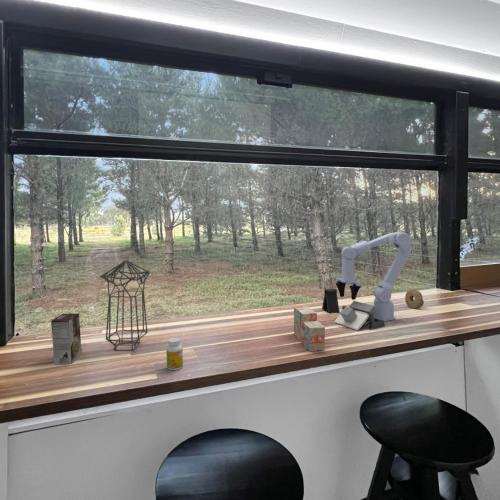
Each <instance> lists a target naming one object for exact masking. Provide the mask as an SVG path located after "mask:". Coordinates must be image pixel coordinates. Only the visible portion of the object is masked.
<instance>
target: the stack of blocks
mask: <svg viewBox="0 0 500 500" xmlns="http://www.w3.org/2000/svg"><path fill="white" fill-rule="evenodd" d="M317 317H318V313H317V312H316V311H315V310H313V309H312V308H310V307H309V306H307V305H305V306H304V305H303V306H293V324H294V325H293V326H294V327H293V331H294V332H293V333H294V335H295V337H297V339H298V341H300V342H301V343H302V344H303V346H304V347H305V348H306V349H307V351H308V352H317V350H322V351H325V343H326V342H325V341H326V340H325V335H326V327H325V326H324V325H323V324H322V323H321V322H319V321H318V318H317Z"/></svg>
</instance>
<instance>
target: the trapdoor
mask: <svg viewBox="0 0 500 500" xmlns="http://www.w3.org/2000/svg"><path fill="white" fill-rule="evenodd" d="M348 307H349V308H353V309H354V310H356V311H360V312H364V313H367V314H371V313H373V314H374V315H375V314H376V313H377V311H376V309H375V307H374V304H373V305H372V304H368V303H365V302H364V303H363V302H360V301H357V300H352V303H350V305H349V306H348ZM356 311H355V313H356V315H357V317H356V319H355V320H354V321H353V322H352V323H350V322H347V321H344V319H343V317H342V316H341V314H339V315H338V317H337V318H336V319H335V320H334V321H333V322H334V323H335V324H337V325H340V326H343V327H346V328H349V329H350V330H351V329H352V330H353V331H359V330H360V329H361V327H362V326H363V325H364V324H365V323H366V322H367V321H366V320H367V319H368V318H369V315H366V314H363V313H359V312H356Z"/></svg>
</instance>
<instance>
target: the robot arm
mask: <svg viewBox="0 0 500 500" xmlns="http://www.w3.org/2000/svg"><path fill="white" fill-rule="evenodd" d="M387 243H388V244H392V245H394V246H395V248H396V250H397V254H396V256H395V258H394V259H393V262H392V263H391V265H390V267H389V268H388V270H387V273H386V274H385V276H384V278H383V280H381V281H380V282H379V284H378V285H377V286H376V287H375V288H374V289H373V293H372V294H373V296H374V299H373V306H374V307H375V309H376V311H377V313H376V314H375V315H374V318H377V319H380V320H384V321H385V322H388V321H391V320H396V318H395V314H394V313H395V305H394V303H393V301H391V299H392V293H393V291H394V285H395V283H396V281H397V280H398V277H400V274H401V273H402V270H403V268H404V267H405V265H406V263H407V261H408V260H409V258H410V256H411V253H412V251H411V250H412V249H411V248H412V247H411V244H412V239H411V237H410V235H409V234H408V233H407V232H401V231H394V232H390V233H387V234H384V235H382V236H379V237H377V238H374V239H372V240H369V241H367V240H359V242H357V243H354V244H350V245H349V246H345V247H343V248H342V249H341V252H340V255H341V256H342V259H341V260H342V261H341V277H336V278H335V282H336V283H335V286H336V287H337V288H336V289H337V291H338V294H339V297H341V298H342V297H345V289H346V285H347V284H348V285H349V288H350V292H351V293H350V295H351V300H352V301H356V298H357V295H358V293H359V290H360V289H361V287H362V282H361V281H360V280H356V279H355V257H357V256H360V255H363V254H365V253H367V252H370V250H371V248H375V247H378V246H381V245H384V244H387Z"/></svg>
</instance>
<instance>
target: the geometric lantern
mask: <svg viewBox="0 0 500 500" xmlns="http://www.w3.org/2000/svg"><path fill="white" fill-rule="evenodd" d="M126 264H127V269H128V271H125V267H126ZM139 269H140V270H143V271H140V270H139ZM118 274H120V277H117V275H118ZM126 274H128V275H130V276H128V275H126ZM150 274H151V271H149V270H147V269H145V268H144V267H141V266H139V265H137V264H136V263H133V262H131V261H129V260H123V261H121V262H120V263H119V264H117V265H115V266H114V267H113V268H111V269H109V270H108V271H106V272H104V273H103V274H101V275H99V278H101V279H104V281H106V282H107V294H108V295H107V296H108V304H107V318H106V330H105V331H106V332H105V340H106V342H109V344H111V345H113V349H112V350H113V351H114V352H115V351H117V352H118V351H120V352H121V351H122V352H123V351H134V350H136V349H137V347H138V346H139V345H140V343H141V339H142V338H143V337H144V336H146V335H147V334H148V324H147V323H148V321H147V312H146V301H145V286H146V285H145V284H146V281H147V279H148V278H149V277H150ZM136 275H137V276H136ZM123 276H124V277H123ZM109 278H110V279H109ZM143 279H144V280H143ZM115 280H119V282H120V284H119V283H118V284H116V283H115ZM122 280H127V281H125V282H124V283H122ZM132 281H136V282H137V284H138V287H137V290H131V293H133V292H134V293H135V294H134V295H131V294H130V292H129V290H127V286H128V284H129V283H130V282H132ZM139 282H140V283H139ZM110 284H112V285H113V289H112V290H111V291H110ZM141 285H142V287H141ZM119 287H123V288H122V290H120V289H119ZM115 288H116V289H117V290H115ZM139 289H140V290H139ZM114 290H115V291H114ZM121 292H122V296H120V293H121ZM125 292H126V293H127V295H128V296H127V295H126V296H125ZM137 292H141V293H139V294H137ZM116 293H117V295H113V294H116ZM140 295H141V306H142V307H141V312H142V315H141V316H142V329H139V316H138V315H139V314H138V302H137V297H138V296H140ZM112 298H117V302H116V303H117V305H116V306H117V308H116V309H117V310H116V326H115V331H114V332H113V333H111V317H112V316H111V314H112V313H111V312H112V310H111V307H112ZM120 298H122V303H121V304H122V305H121V307H122V314H121V315H122V319H121V321H122V323H121V329H119V330H118V325H119V309H120V308H119V307H120ZM125 298H130V299H129V301H130V302H129V303H130V304H129V305H130V329H124V325H125V324H124V323H125V321H124V320H125V317H124V315H125V308H124V307H125ZM132 298H134V306H135V318H136V329H133V305H132V304H133V303H132V302H133V301H132V300H133V299H132ZM118 332H121V337H120V335H119V333H118ZM123 332H130V335H131V336H130V337H123ZM134 332H137V337H133V336H134V335H133V333H134ZM143 332H144V333H143ZM113 335H117V337H118V339H111V337H113ZM126 339H127V340H126ZM130 339H131V340H130ZM114 342H115V343H114ZM117 343H118V344H117ZM136 344H137V345H136ZM118 346H120V347H121V346H123V347H124V346H125V347H126V346H127V347H129V346H130V347H131V349H130V348H129V349H117V348H118Z"/></svg>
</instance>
